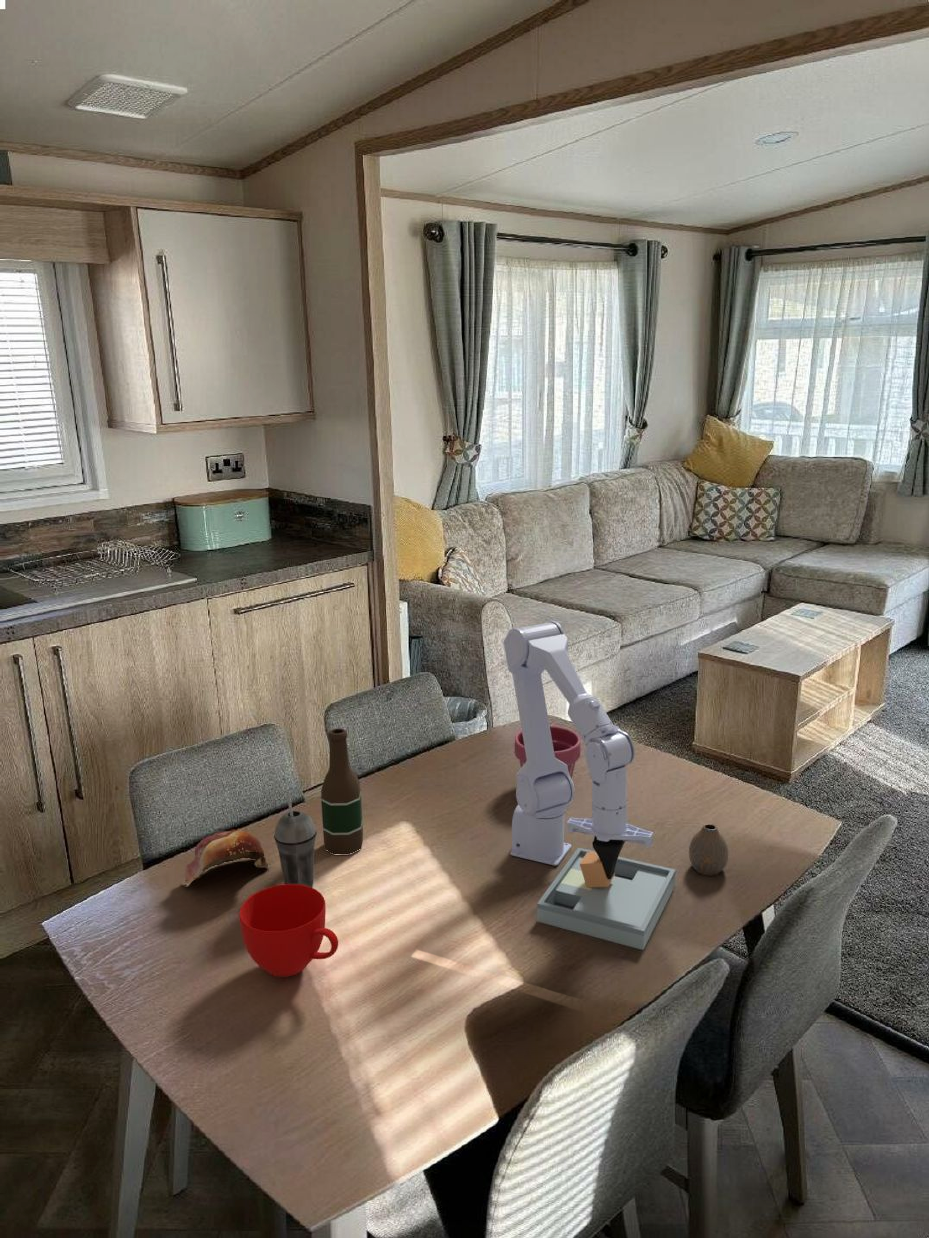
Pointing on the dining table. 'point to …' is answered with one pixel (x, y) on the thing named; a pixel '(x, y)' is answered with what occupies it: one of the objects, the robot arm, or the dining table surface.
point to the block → (594, 871)
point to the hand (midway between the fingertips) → (609, 876)
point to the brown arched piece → (224, 852)
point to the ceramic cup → (285, 928)
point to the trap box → (609, 901)
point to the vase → (708, 851)
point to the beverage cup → (296, 846)
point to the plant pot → (555, 747)
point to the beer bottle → (341, 800)
